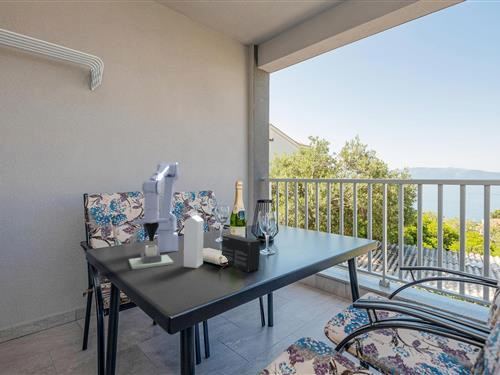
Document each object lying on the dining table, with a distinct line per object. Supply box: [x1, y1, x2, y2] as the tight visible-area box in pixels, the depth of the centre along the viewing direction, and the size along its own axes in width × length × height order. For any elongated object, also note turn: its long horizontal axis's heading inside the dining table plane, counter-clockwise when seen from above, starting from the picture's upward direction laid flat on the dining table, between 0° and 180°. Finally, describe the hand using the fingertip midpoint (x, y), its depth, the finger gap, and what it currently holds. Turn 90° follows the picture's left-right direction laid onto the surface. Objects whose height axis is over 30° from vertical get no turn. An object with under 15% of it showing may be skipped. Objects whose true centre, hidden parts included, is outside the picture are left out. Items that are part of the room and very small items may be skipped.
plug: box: [144, 244, 158, 257], centre depth 118 cm, size 4×4×7 cm
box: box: [221, 234, 261, 273], centre depth 116 cm, size 17×7×12 cm, turn 45°
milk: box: [183, 211, 205, 269], centre depth 115 cm, size 6×6×22 cm
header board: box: [128, 251, 174, 270], centre depth 118 cm, size 16×12×4 cm
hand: (151, 240), depth 118 cm, fingers closed
